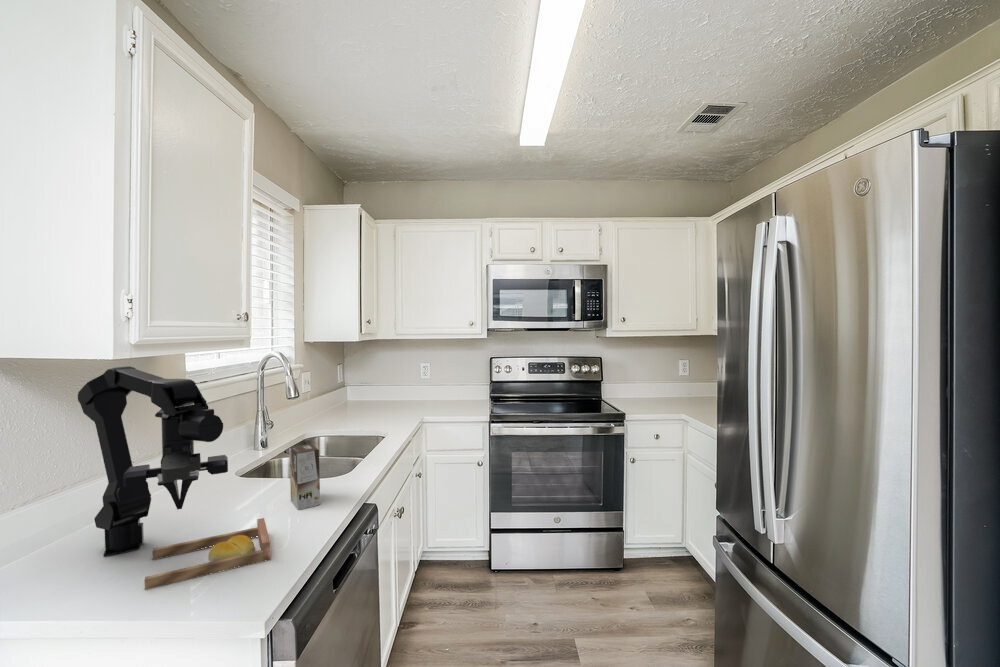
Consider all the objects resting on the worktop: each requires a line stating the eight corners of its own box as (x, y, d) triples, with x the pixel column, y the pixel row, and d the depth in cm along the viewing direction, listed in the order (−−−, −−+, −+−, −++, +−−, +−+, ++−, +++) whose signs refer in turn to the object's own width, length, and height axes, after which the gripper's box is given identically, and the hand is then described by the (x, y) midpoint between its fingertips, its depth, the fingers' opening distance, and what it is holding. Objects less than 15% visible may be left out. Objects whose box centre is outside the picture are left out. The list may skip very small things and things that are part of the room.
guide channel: (144, 589, 95) (144, 569, 95) (153, 557, 108) (152, 539, 108) (270, 559, 107) (270, 541, 106) (264, 533, 120) (264, 517, 120)
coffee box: (321, 505, 138) (320, 449, 138) (297, 510, 134) (296, 453, 134) (312, 496, 145) (310, 443, 145) (289, 500, 142) (288, 446, 141)
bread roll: (201, 560, 107) (201, 543, 107) (241, 544, 114) (241, 528, 114) (221, 570, 102) (221, 552, 102) (261, 553, 110) (261, 536, 110)
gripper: (117, 452, 94) (119, 532, 94) (227, 440, 103) (228, 512, 103) (126, 440, 103) (128, 512, 104) (226, 430, 113) (228, 496, 113)
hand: (179, 508), depth 106 cm, fingers closed
